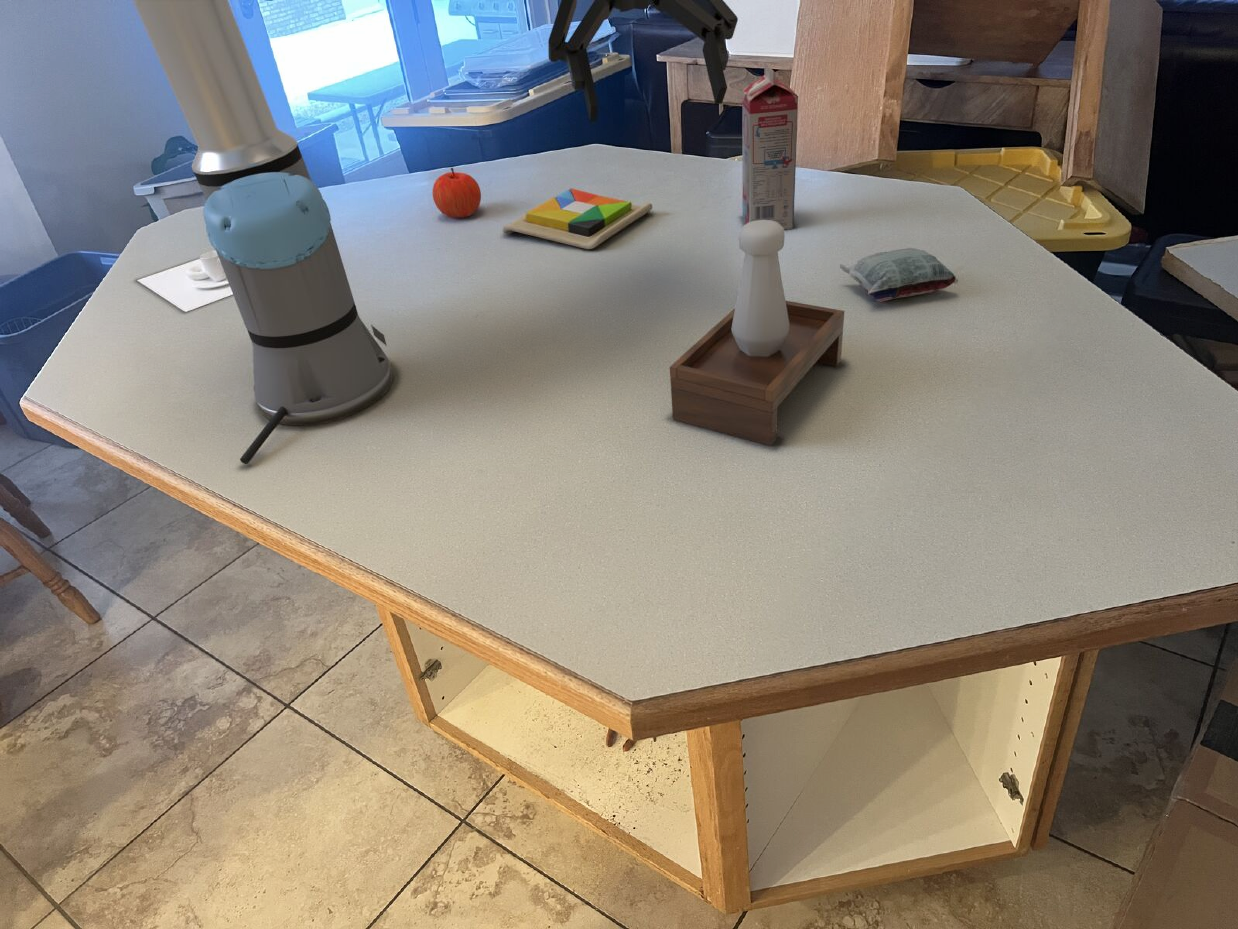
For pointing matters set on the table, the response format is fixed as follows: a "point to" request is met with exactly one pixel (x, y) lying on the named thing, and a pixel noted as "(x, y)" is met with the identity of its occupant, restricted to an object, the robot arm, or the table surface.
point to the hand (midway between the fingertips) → (658, 105)
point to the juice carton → (769, 150)
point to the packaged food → (900, 274)
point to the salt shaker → (760, 291)
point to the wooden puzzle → (578, 218)
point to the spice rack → (751, 374)
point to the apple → (456, 194)
